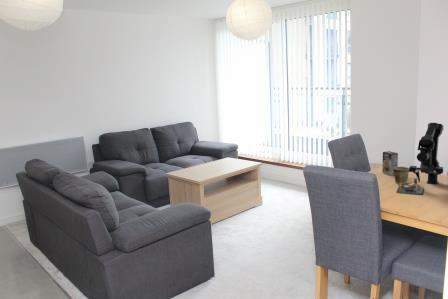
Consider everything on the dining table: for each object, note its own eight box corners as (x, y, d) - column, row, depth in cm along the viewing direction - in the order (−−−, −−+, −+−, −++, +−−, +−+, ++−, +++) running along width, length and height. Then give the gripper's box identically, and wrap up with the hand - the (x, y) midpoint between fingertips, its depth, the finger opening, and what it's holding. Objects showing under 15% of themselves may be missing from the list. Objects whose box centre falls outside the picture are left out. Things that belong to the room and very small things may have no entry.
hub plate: (399, 186, 254) (399, 182, 253) (423, 188, 246) (423, 184, 246) (396, 192, 242) (396, 187, 242) (421, 194, 235) (421, 190, 234)
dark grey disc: (411, 189, 239) (411, 181, 238) (401, 187, 245) (401, 179, 245) (421, 186, 244) (421, 179, 243) (411, 184, 250) (411, 177, 249)
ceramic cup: (410, 184, 257) (411, 169, 255) (394, 184, 259) (394, 170, 257) (405, 179, 270) (406, 165, 268) (390, 179, 272) (390, 165, 270)
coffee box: (382, 172, 291) (382, 151, 289) (389, 171, 293) (389, 150, 290) (390, 175, 283) (390, 153, 280) (397, 174, 285) (398, 152, 282)
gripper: (408, 160, 238) (407, 185, 241) (442, 162, 229) (442, 187, 231) (409, 156, 248) (409, 180, 250) (443, 157, 238) (443, 182, 241)
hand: (425, 182), depth 243 cm, fingers open, 7 cm apart
